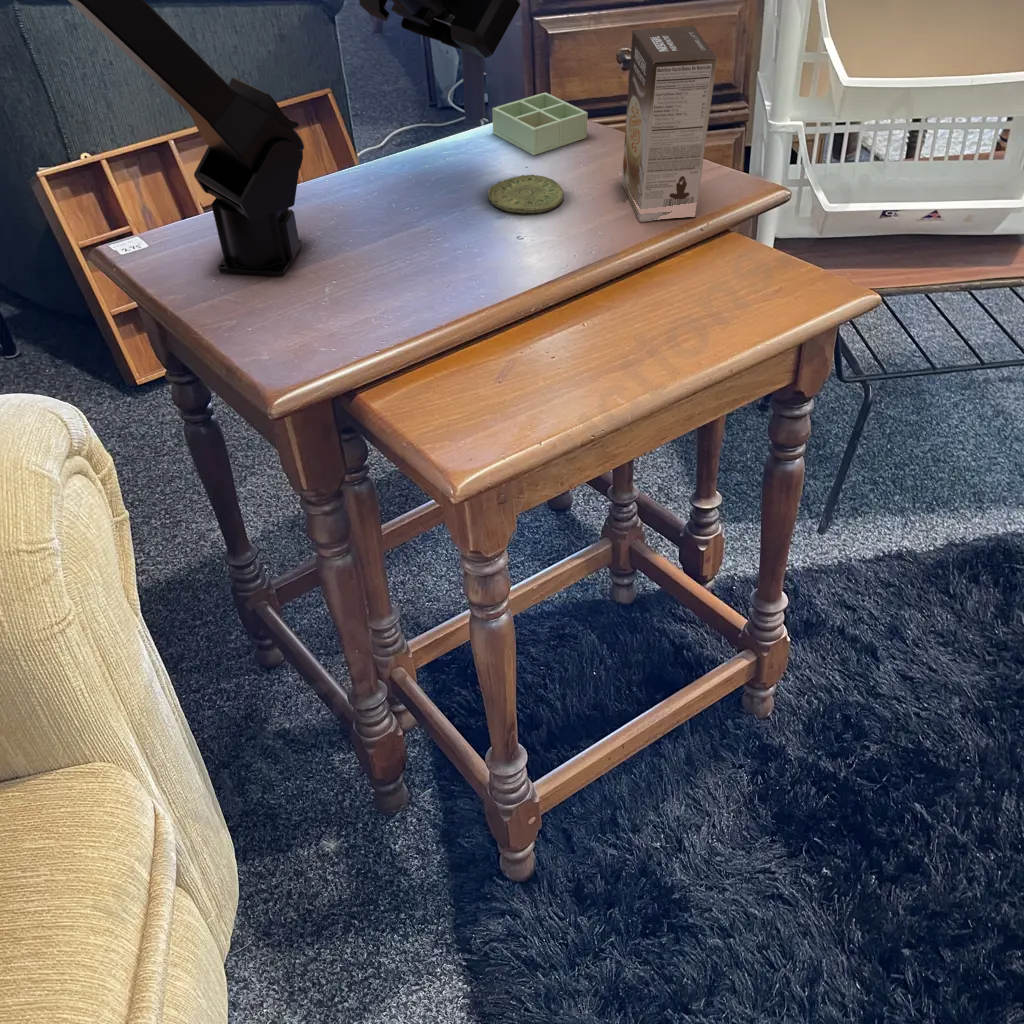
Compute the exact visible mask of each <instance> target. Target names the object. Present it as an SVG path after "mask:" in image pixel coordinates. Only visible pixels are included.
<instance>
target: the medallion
mask: <svg viewBox="0 0 1024 1024" xmlns="http://www.w3.org/2000/svg"><path fill="white" fill-rule="evenodd" d="M487 193H488V195H487V196H488V201H489V203H490V204H491V205H492V206H494V207H495V208H498V209H499V210H502V211H505V212H507V213H516V214H520V215H523V214H538V213H545V212H548V211H551V210H553V209H555V208H557V207H559V205H561V203H562V202H563V200H564V190H563V188H562V187H561V185H560V184H559V183H558V182H557V181H555V179H552V178H549V177H547V176H543V175H538V174H536V175H535V174H525V175H524V174H522V175H518V176H514V177H510V178H508V179H504V180H502V181H499V182H497V183H496V184H493V185H492V186H490V188H489V189H488V192H487Z"/></svg>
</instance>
